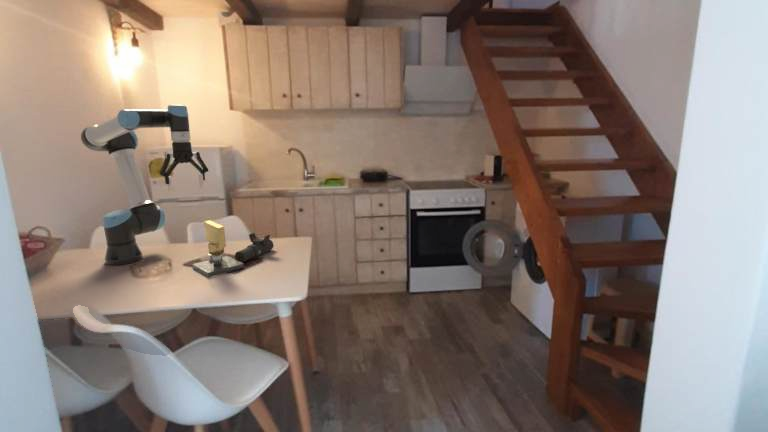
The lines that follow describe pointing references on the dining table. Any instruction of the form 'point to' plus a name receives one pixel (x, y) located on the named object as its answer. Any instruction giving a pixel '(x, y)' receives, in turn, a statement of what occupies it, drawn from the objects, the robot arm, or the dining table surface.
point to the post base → (217, 265)
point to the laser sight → (254, 248)
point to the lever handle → (215, 237)
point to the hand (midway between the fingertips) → (186, 189)
